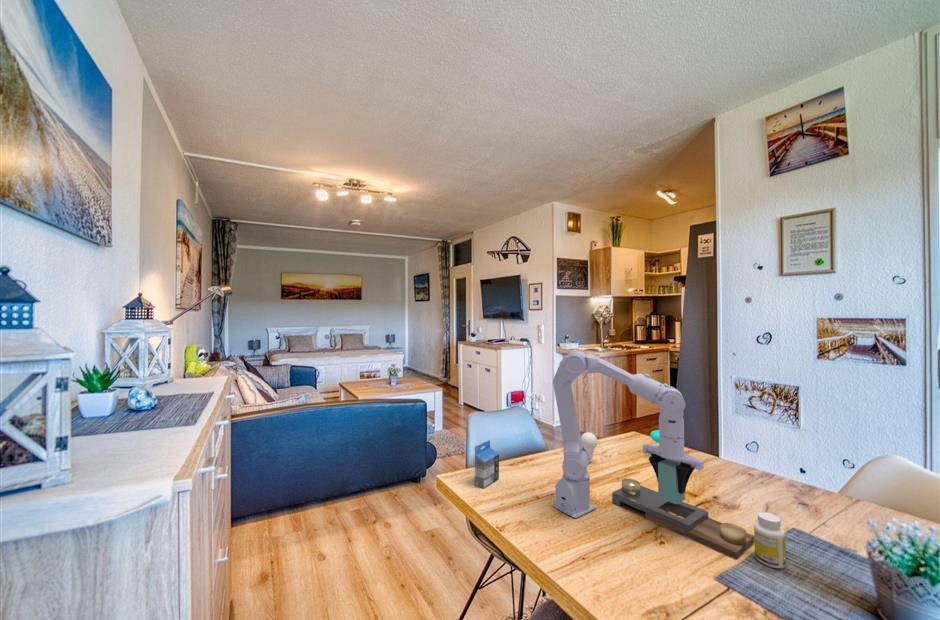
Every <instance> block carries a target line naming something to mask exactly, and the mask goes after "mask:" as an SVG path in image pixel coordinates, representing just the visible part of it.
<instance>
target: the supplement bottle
mask: <svg viewBox="0 0 940 620" xmlns="http://www.w3.org/2000/svg"><path fill="white" fill-rule="evenodd" d="M781 522H782V521H781V518H780V517H779V516H777V515H775V514H773V513H770V512H761V511H760V512H758V513H757V522H755V523H754V525H753V530H754V531H753V533H754V535H753V536H754V543H753V544H754V557H755V559H756V560H757V561H758V562H760V563H761V564H763V565H764V566H767V567H770V568H772V569H783V568H785V567H786V565H787V562H786V559H787V556H786V554H787V553H786V533H785V531H784V530H783V529H782V528H781V525H782V524H781Z"/></svg>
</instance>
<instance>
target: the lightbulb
mask: <svg viewBox="0 0 940 620" xmlns="http://www.w3.org/2000/svg"><path fill="white" fill-rule="evenodd" d="M581 439H582V441H583V443H584V447H585V449H586V451H587V452H588V454H589V456H590V462H589V464H590V463H591V462H593V458H594V457H593V456H594V452H595V449H596V447H597V445H598V443H599V442H598V438H597V436H596V435H595V434H594V433H593V432H589V431H587V432H584V433H582V435H581Z"/></svg>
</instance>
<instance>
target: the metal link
mask: <svg viewBox="0 0 940 620" xmlns="http://www.w3.org/2000/svg"><path fill="white" fill-rule="evenodd" d="M611 494H612V495H611V501H612V502H611V503H612V504H614V505H616V506H619V507H622V506H624V505H625V504H626V505H628V506H630V507H632V508H635V509H637V510H639V511H642V512H644V513H645V514H646V513H648V514H650V515H653V516H655V517H657V518H659V519H662V520H664V521H666V522H668V523H671V524H673V525H675V526H677V527H680V528H682V529H684V530H686V531H688V532H689V531H691V530H692V529H693V528H695V527H696V526H697V525H699V524H700V523H702V522H703V521H704V520H706V519H707V518H709V511H708V510H705V509H702V508H699V507H698V506H695V505H692V504H689V503H687V502H684V501H681V502H680V503H678V504H674V503H671V502H669V501H666V500H664V499H661V498H659V497H658V491H656V490H654V489H651V488H649V487H647V486H644V485H641V482H639V481H638V480H636V479H634V478H623V479H622V480H621V487H620V488H619V489H616V490H614V491H612V493H611ZM669 506H672V507H674V508H677V509H679V510H681V511H684V512H686V513H689V514H691V515H689V516H688V517H686V518H685V517H681V516H679V515H678V516H677V514H673V513H672V512H670V511H669V512H666V511H664V509H665V508H667V507H669Z"/></svg>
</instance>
